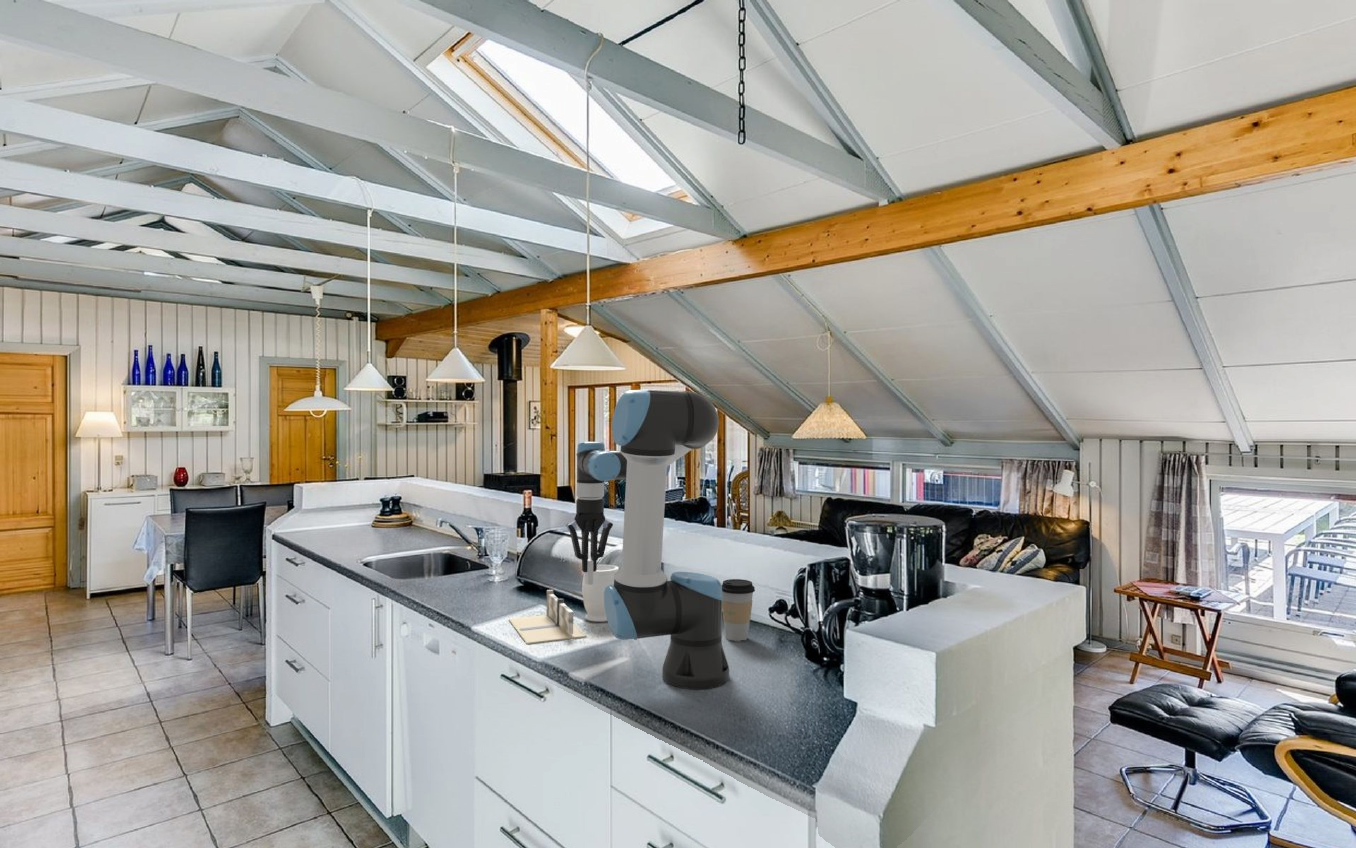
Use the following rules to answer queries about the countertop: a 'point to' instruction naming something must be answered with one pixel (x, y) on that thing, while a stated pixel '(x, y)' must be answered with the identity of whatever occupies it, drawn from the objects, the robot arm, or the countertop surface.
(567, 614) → the fence flap
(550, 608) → the fence fixed
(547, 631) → the card
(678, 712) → the countertop surface
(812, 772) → the countertop surface
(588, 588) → the jar
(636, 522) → the robot arm
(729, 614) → the coffee cup
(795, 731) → the countertop surface
